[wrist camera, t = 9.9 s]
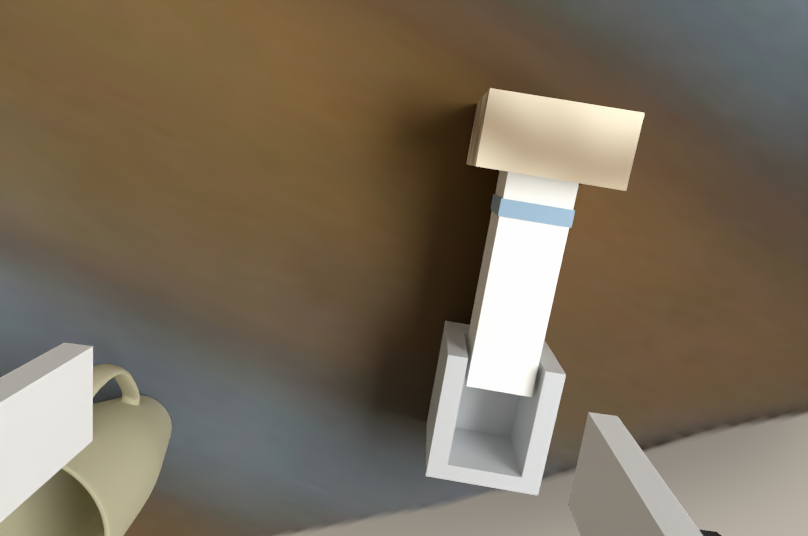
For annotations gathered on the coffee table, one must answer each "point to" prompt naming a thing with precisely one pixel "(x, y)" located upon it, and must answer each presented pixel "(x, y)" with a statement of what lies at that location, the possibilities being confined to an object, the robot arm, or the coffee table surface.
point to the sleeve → (489, 422)
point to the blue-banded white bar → (518, 281)
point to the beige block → (554, 138)
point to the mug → (101, 469)
